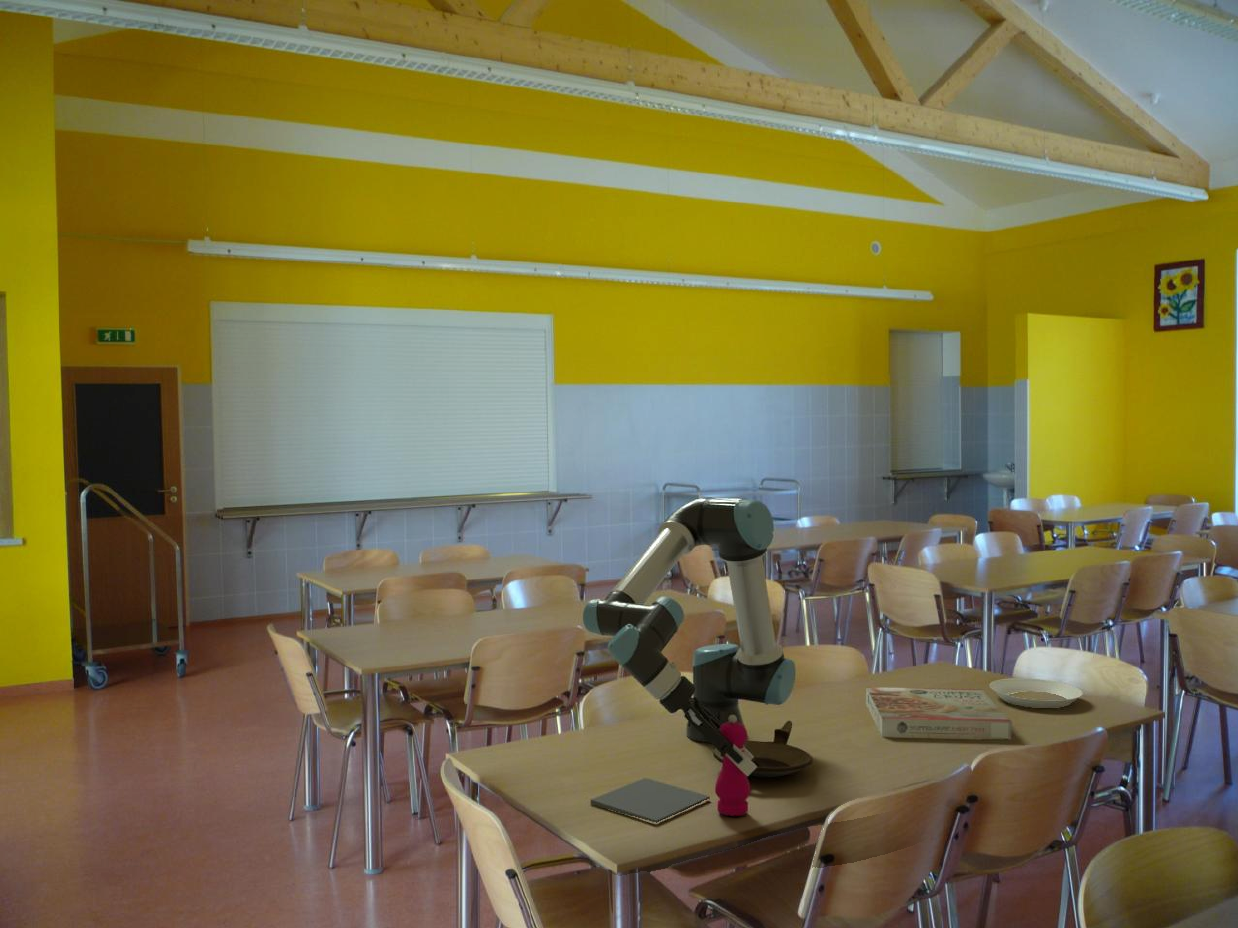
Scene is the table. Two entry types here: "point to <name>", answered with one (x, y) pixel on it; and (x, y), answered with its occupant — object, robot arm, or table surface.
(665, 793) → the charcoal notebook
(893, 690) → the pizza box
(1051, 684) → the white plate
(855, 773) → the table surface
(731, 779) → the pepper mill
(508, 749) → the table surface
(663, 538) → the robot arm
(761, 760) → the ancient handled dish
